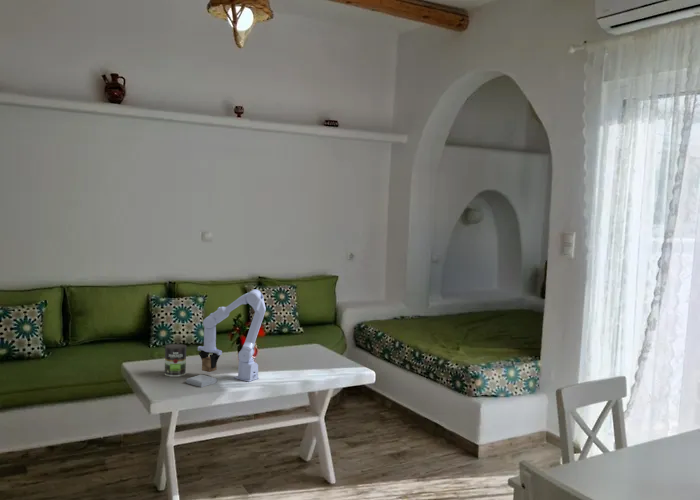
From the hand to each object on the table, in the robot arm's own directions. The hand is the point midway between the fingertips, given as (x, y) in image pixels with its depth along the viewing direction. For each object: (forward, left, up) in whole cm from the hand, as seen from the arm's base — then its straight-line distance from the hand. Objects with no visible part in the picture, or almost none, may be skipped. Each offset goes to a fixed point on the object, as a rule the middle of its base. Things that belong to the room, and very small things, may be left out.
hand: (209, 366), depth 302 cm
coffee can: (+15, +8, -5) cm, 18 cm away
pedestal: (-5, +10, -5) cm, 12 cm away
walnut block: (0, 0, -2) cm, 2 cm away
